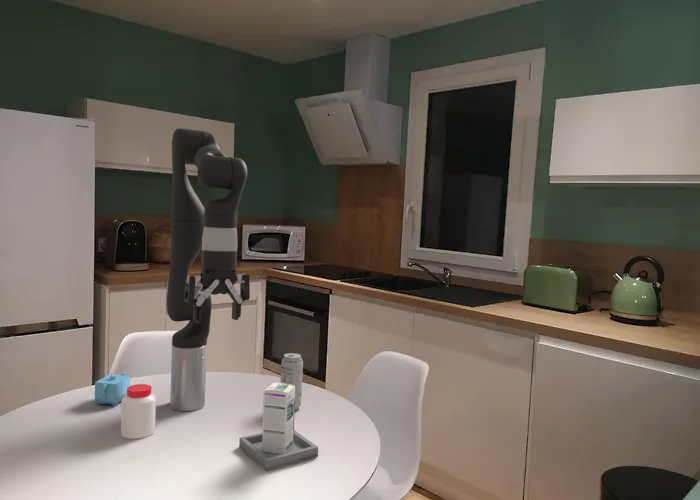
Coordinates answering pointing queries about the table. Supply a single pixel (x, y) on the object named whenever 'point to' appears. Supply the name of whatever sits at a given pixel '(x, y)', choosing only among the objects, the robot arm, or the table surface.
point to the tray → (270, 461)
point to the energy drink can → (293, 374)
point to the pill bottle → (138, 412)
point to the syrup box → (278, 418)
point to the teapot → (111, 389)
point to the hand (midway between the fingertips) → (217, 321)
